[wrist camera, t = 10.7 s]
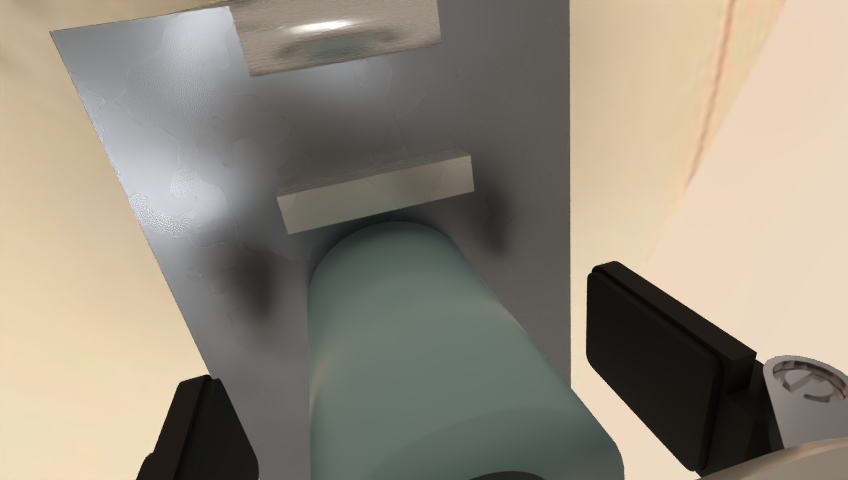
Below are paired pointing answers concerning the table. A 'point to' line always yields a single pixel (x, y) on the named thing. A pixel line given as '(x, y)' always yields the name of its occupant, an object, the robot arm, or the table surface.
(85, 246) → the table surface
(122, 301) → the table surface
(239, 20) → the motor
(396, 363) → the teal cylinder with cap
